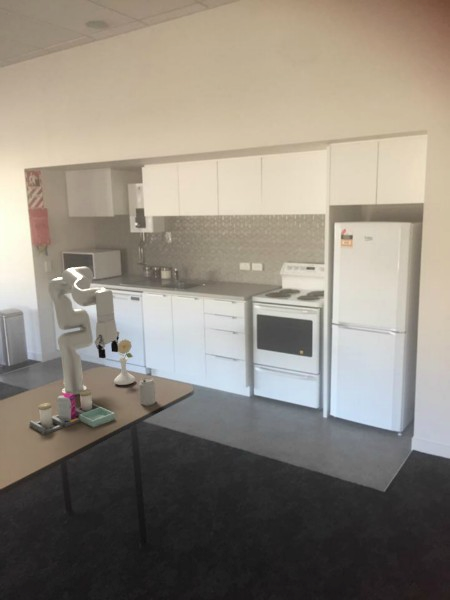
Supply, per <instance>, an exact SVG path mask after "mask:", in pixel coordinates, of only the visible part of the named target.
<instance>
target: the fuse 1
mask: <svg viewBox="0 0 450 600" xmlns="http://www.w3.org/2000/svg"><path fill="white" fill-rule="evenodd" d="M38 410H39V412H38V413H39V419H40V420H39V421H40V422H41V424H40V425H41V426H43V427H45V428H46V430H47V429H50V428H53V427H54V423H53V419H52V415H53V413H52V403H50V402H45V403H41V404H39V405H38Z"/></svg>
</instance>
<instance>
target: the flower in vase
mask: <svg viewBox="0 0 450 600" xmlns="http://www.w3.org/2000/svg"><path fill="white" fill-rule="evenodd" d="M132 347H133V346H132V341H130V340H128V339H127V338H126V339H122V340H120V341H119V342H118V352H117V353H118V355H120V356H122V357H120V358H118V361H119V362H120V366H121V372H120V373H119V374H118V375H117V376H116V377H115V378H114V380H113V382H114V384H116V385H120V386H127V385H130V384H132V383H134V382H135V381H136V378H135V376H134V375H132V374H130V373H129V372H128V371H127V367H126V366H127V362H128V359H129V358H133V357H134V355H132V353H131V352H130V350H131V348H132Z"/></svg>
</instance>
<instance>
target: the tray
mask: <svg viewBox="0 0 450 600" xmlns="http://www.w3.org/2000/svg"><path fill="white" fill-rule="evenodd" d="M78 418H79V419H80V421H79V422H81V423H82V424H85V425H87V426H89V427H91V428H97V427H99V426H102V425H104V424H107V423H109V422H111V421H114V420H116V415H115V412H114V411H110V410H109V409H107V408H104V407H102V406H100V407H99V408H96V409H93V410H91V411H88V412H85V413H82V414H79V416H78Z"/></svg>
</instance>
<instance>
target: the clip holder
mask: <svg viewBox="0 0 450 600" xmlns="http://www.w3.org/2000/svg"><path fill="white" fill-rule="evenodd" d="M99 407H101V406H100V405H97V404H95V403H94V402H92V409H96V408H99ZM75 409H76V418H74V419H73V420H70V421H69V422H65V421H63V420H61V419H59V416H58V414H56V415H53V414H52V419H53V425H55V426H53V427H52V428H50V429H46V428H45V427H43V426H41V422H40V420H38V421H34V420H29V424H28V426H29V428H33V429H34V430H36V431H38V432H40V433H41V435H46V434H49V433H53V432H55V431H58V430H60V429H63V428H66V427H68V426H71V425H74V424H77V423H80V422H81V421H80V419H79V414H82V413H85V412H83V411H81V406H79V407H75ZM77 417H78V418H77Z"/></svg>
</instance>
